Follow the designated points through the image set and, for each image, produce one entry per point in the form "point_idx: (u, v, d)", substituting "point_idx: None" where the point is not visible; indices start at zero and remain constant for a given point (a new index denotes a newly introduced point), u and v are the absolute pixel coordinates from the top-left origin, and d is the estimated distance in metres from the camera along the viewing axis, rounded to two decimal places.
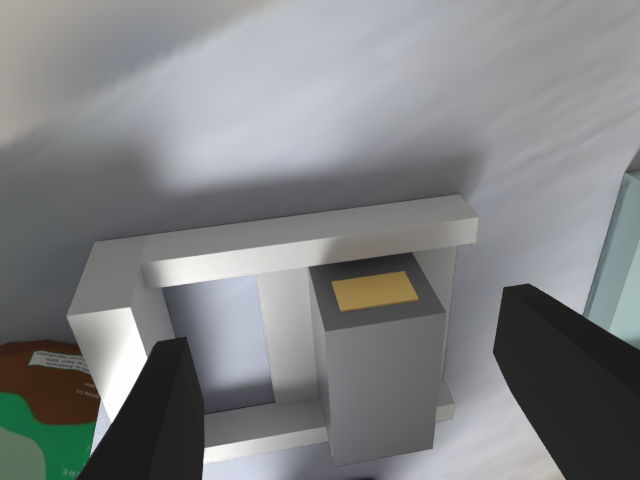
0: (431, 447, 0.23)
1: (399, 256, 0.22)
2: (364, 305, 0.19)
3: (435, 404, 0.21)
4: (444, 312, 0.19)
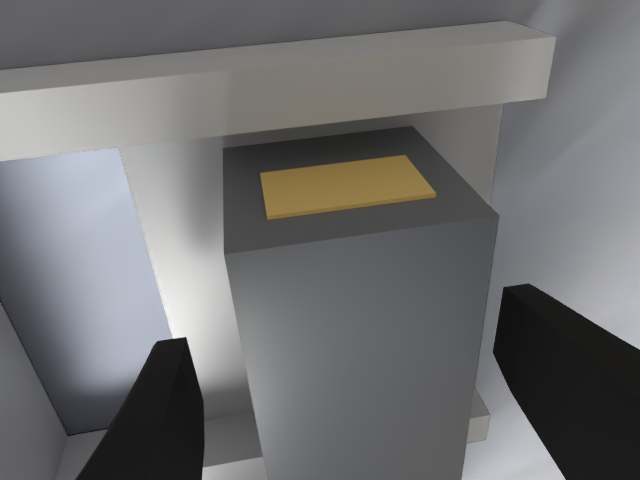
0: None
1: (395, 138, 0.12)
2: (319, 207, 0.09)
3: (467, 418, 0.11)
4: (494, 215, 0.08)
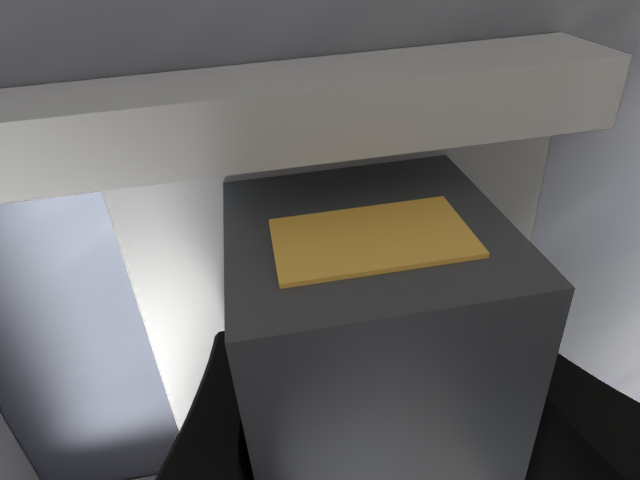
0: None
1: (428, 171, 0.10)
2: (344, 271, 0.07)
3: None
4: (568, 287, 0.07)
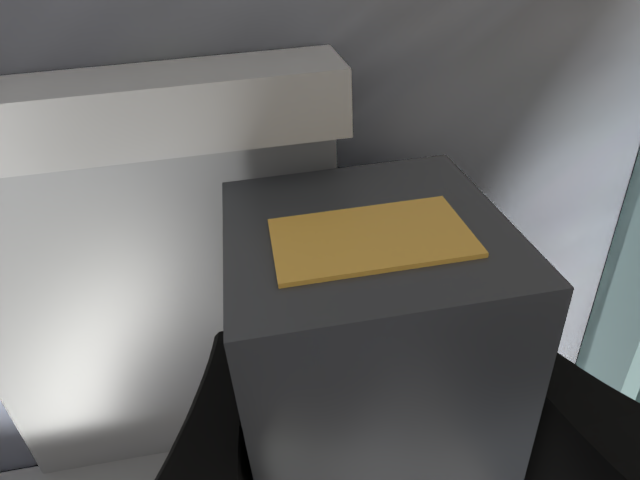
0: None
1: (427, 171, 0.10)
2: (343, 271, 0.07)
3: None
4: (567, 287, 0.07)
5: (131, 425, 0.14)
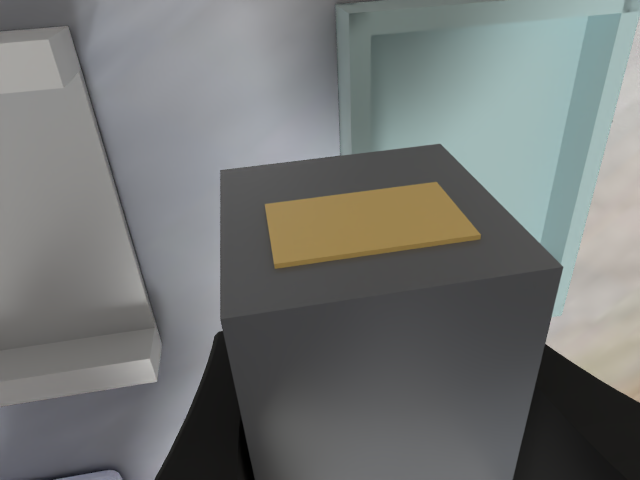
0: None
1: (422, 159, 0.10)
2: (338, 252, 0.07)
3: None
4: (557, 266, 0.07)
5: None
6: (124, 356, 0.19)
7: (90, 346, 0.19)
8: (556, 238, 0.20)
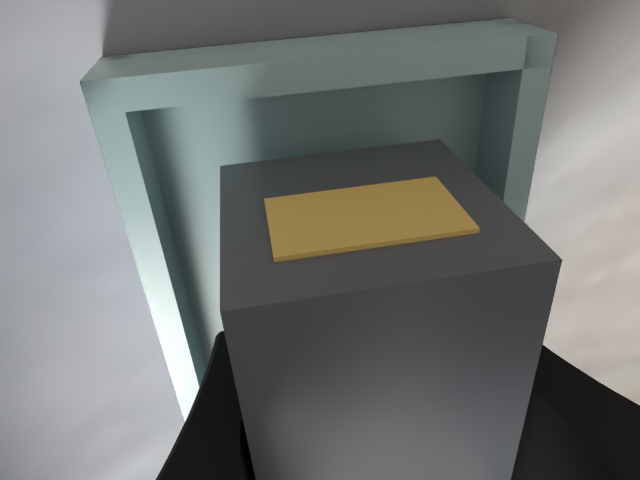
0: None
1: (422, 154, 0.10)
2: (338, 245, 0.07)
3: None
4: (556, 259, 0.07)
5: None
6: None
7: None
8: None
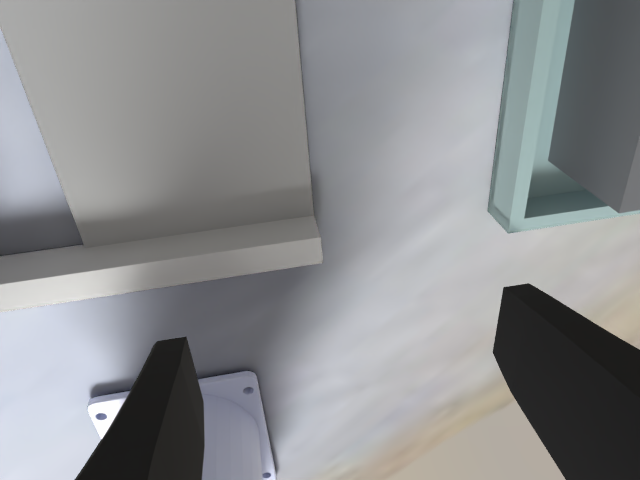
0: None
1: None
2: None
3: None
4: None
5: (150, 206, 0.19)
6: (295, 236, 0.19)
7: (258, 230, 0.20)
8: None
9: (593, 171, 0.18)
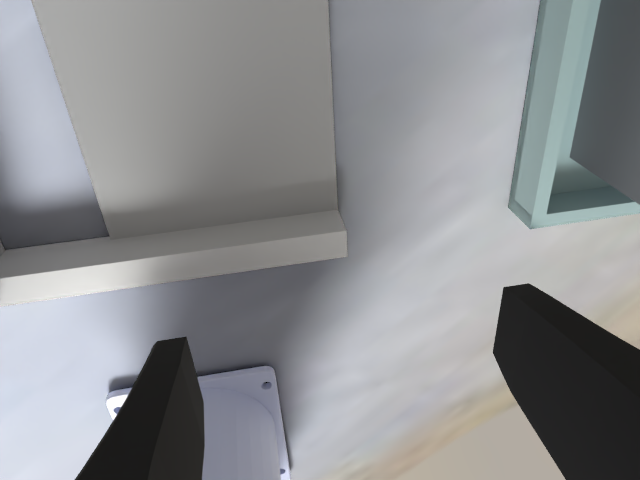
0: None
1: None
2: None
3: None
4: None
5: (177, 198, 0.19)
6: (320, 229, 0.20)
7: (283, 223, 0.20)
8: None
9: (618, 167, 0.18)
